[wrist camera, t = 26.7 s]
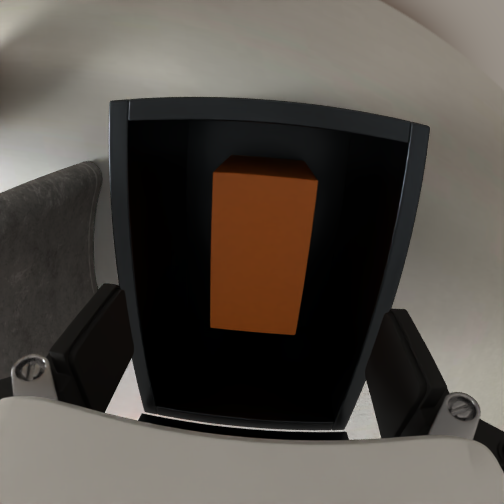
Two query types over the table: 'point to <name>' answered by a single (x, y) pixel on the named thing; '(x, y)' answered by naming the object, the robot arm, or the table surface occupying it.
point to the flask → (45, 259)
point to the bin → (199, 254)
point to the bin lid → (243, 430)
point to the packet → (260, 243)
